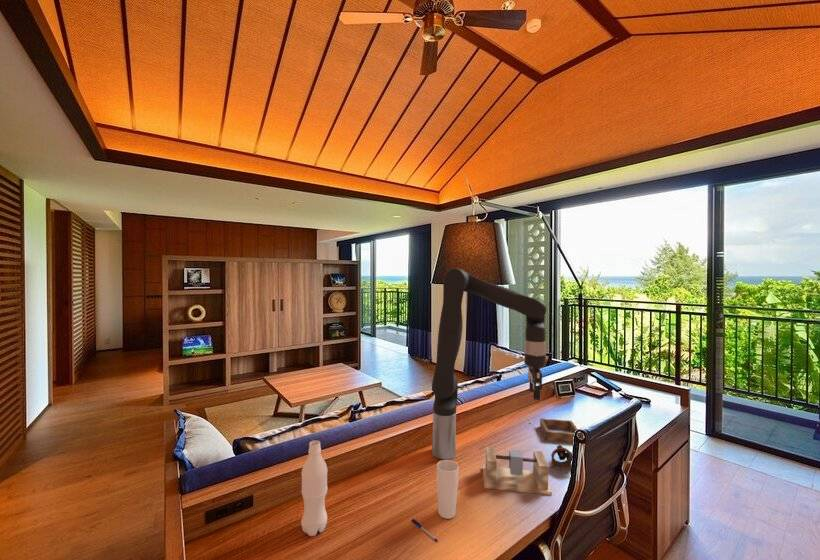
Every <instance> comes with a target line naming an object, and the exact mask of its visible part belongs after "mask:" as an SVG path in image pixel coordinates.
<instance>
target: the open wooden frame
mask: <svg viewBox="0 0 820 560" xmlns="http://www.w3.org/2000/svg"><path fill="white" fill-rule="evenodd" d="M539 428H540V431H541V433H542V435H543V437H544V439H545V440H546V442H556V443H566V444H567V443H568V444H574V443H573V437H574V433H575V431H576V430H579V429H578V428H577V426H576V425H575V423H574V422H573V421H572V420H566V419H565V420H564V419H552V418H540V419H539ZM549 429H550V430H549ZM551 429H553V430H554V429H555V430H564V431H565V430H566V431H565V432H564V431H555V430H554V431H553V430H551ZM568 431H569V432H568Z"/></svg>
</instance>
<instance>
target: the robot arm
mask: <svg viewBox="0 0 820 560" xmlns="http://www.w3.org/2000/svg"><path fill="white" fill-rule="evenodd" d="M442 280H443V283H442V284H443V288H442V289H443V292H442V294H443V295H442V307H441V313H440V319H439V325H438V333H437V344H436V345H437V347H436V363H435V368H434V373H433V378H432V382H431V389H432V392H433V393H434V401H433V404H432V406H433V407H432V409H433V411H432V434H431V436H432V437H431V456H432V457H435V458H437V459H439V460H451V459H453V458H454V457H456V448H457V447H456V446H457V445H456V442H457V441H456V440H457V439H456V438H457V437H456V436H457V431H456V429H457V405H458V395H459V394H458V390H459V389H458V387H459V382H458V377H457V376H456V374H455V365H456V361H457V357H458V355H459V351H460V347H461V342H462V335H463V327H464V326H463V310H462V303H463V297H464V293H469V294H470V293H471V294H473V295H476V296H479V297H481V298H483V299H485V300H487V301H490V302H492V303H493V304H495V305H499V306H501V307H504V308H506V309H509V310H512V311H516V312H518V313H520V314H522V315H524V316H525V320H526V321H525V322H526V326H525V341H524V358H523V359H524V363H523V364H524V365H525V366H528V373H527V375H528V376H527V377H528V382H529V386H528V387H529V392H531V393H533V394H532V396H533V397H532V398H533V400H534V401H540V400H541V391H542V390H543V373H542V370H541V368H544V367H545V366H546V364H547V361H546V360H547V345H546V334H547V333H546V326H545V319H546V313H547V305H546V304H545V303H544V301H543V300H542V299H540V298H533V297H530V296H528V295H527V296H526V295H523V294H522V293H520V292H519V291H515V290H513V289H510V288H507V287H505V286H501V285H498V284H495V283H491V282H488V281H486V280H482V279H480V278H478V277H476V276H474V275H472V274H471V273H468V272H467V271H466V270H464V269H462V268H459V267H455V268H454V267H453V268H450V269H448V270H447V271H446V272H445V274H444V276H443V279H442Z"/></svg>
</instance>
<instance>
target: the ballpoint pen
mask: <svg viewBox="0 0 820 560" xmlns="http://www.w3.org/2000/svg"><path fill="white" fill-rule="evenodd" d="M411 522H413V523H414V524H415V525H416V526H417V527H418V528H420V529H421V530H422V531H423V532H424V533H426V534H427V535H428V536H429V537H430V538H431V539H432V540H433V541H435V542H438V541H439V540H438V539H437V538H436V537H435V536H434V535H433V534H431V533H430V532H429V531H428V530H427V529H426V528H425V527H423V525H421V523H420V522H418V520H416V519H415V518H412V520H411Z"/></svg>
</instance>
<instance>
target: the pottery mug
mask: <svg viewBox="0 0 820 560" xmlns="http://www.w3.org/2000/svg"><path fill="white" fill-rule="evenodd" d="M572 453H573V452H571V451H570V450H569V449H567V448H565V447H563V446H562V445H561V444H559V445H557V446H556V448H555V449H554V450H552V452H551V462H550V463H551V467H552V468H553V469H554V468H555V469H559V470H566V469H571V468H572V465H571V461H572ZM556 454H557V455H558V456H557V457H558V459H559V461H558V460H556V458H555V455H556ZM571 470H572V469H571Z"/></svg>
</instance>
